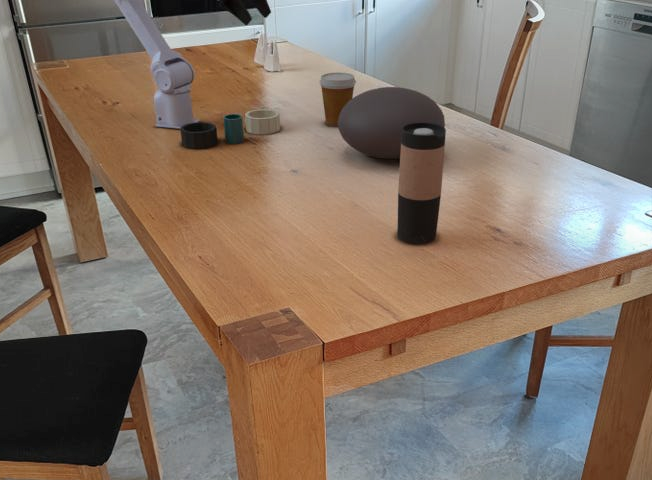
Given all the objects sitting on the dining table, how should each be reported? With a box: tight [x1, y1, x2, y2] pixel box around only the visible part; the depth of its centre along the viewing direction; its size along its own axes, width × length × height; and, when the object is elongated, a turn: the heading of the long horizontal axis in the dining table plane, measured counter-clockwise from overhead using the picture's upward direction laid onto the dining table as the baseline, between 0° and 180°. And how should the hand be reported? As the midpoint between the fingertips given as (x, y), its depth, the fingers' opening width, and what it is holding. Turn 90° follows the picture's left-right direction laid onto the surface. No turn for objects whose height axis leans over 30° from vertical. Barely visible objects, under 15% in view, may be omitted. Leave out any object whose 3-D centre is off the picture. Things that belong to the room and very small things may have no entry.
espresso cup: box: [222, 113, 245, 145], centre depth 180 cm, size 5×5×6 cm
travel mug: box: [397, 122, 447, 246], centre depth 128 cm, size 8×8×20 cm
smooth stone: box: [337, 86, 446, 160], centre depth 168 cm, size 25×25×15 cm
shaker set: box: [253, 32, 282, 72], centre depth 243 cm, size 12×4×11 cm, turn 34°
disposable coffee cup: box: [319, 72, 357, 127], centre depth 190 cm, size 10×10×12 cm
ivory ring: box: [244, 108, 281, 135], centre depth 188 cm, size 9×9×4 cm
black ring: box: [179, 121, 219, 150], centre depth 180 cm, size 9×9×4 cm
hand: (258, 18), depth 167 cm, fingers open, 7 cm apart
